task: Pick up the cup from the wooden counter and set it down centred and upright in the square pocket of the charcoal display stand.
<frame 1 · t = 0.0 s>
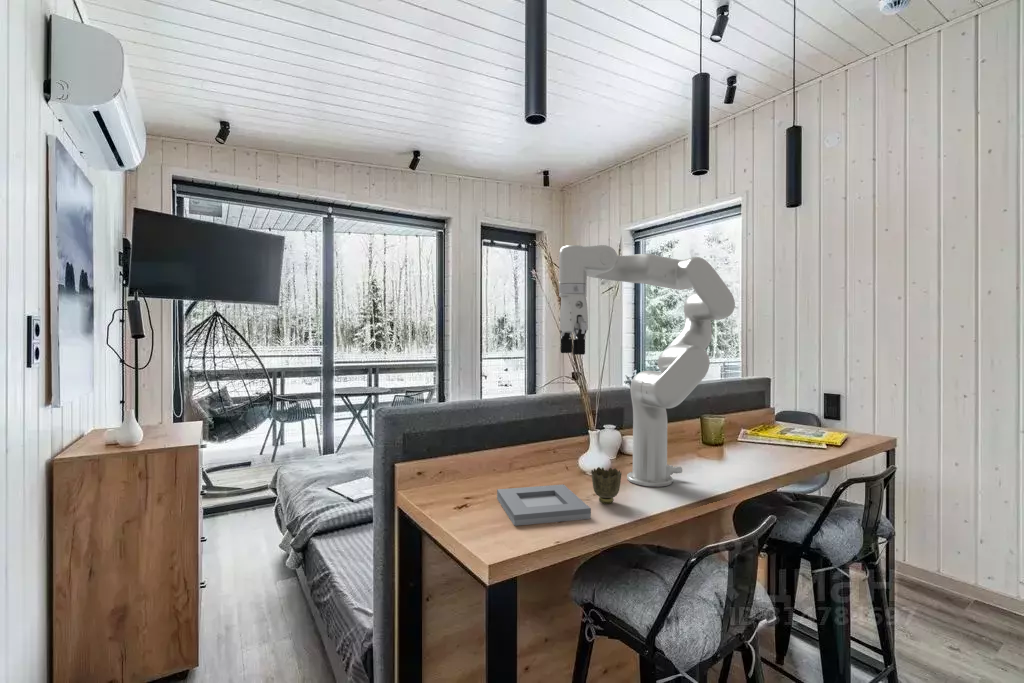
hand: (572, 353, 134), 37 cm above the table, tool pointing down, fingers open, 9 cm apart
cup: (606, 503, 122), on the table
display stand: (541, 508, 118), on the table
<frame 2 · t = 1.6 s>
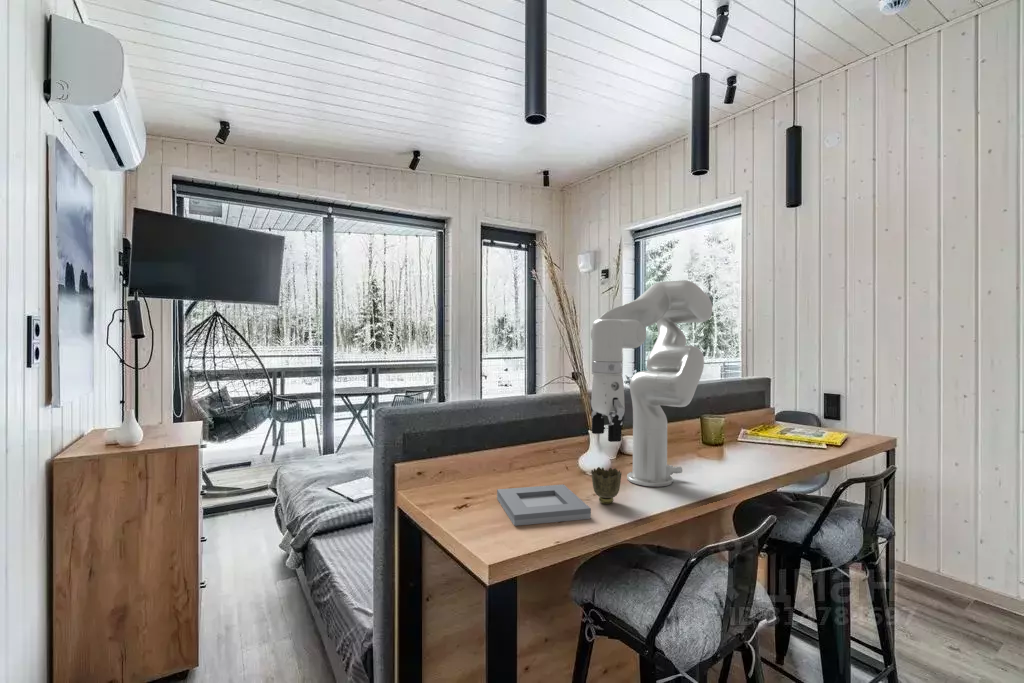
hand: (605, 437, 122), 16 cm above the table, tool pointing down, fingers open, 9 cm apart
nothing on the table moved.
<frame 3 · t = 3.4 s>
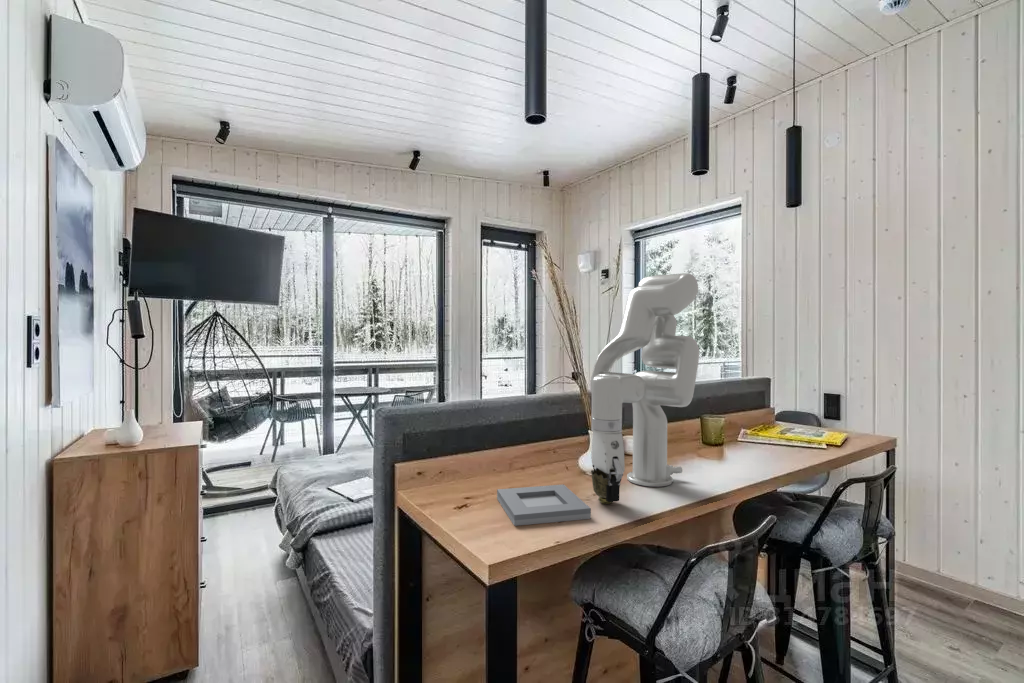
hand: (606, 495, 122), 2 cm above the table, tool pointing down, fingers closed on cup, 7 cm apart
cup: (606, 503, 122), on the table, touching gripper
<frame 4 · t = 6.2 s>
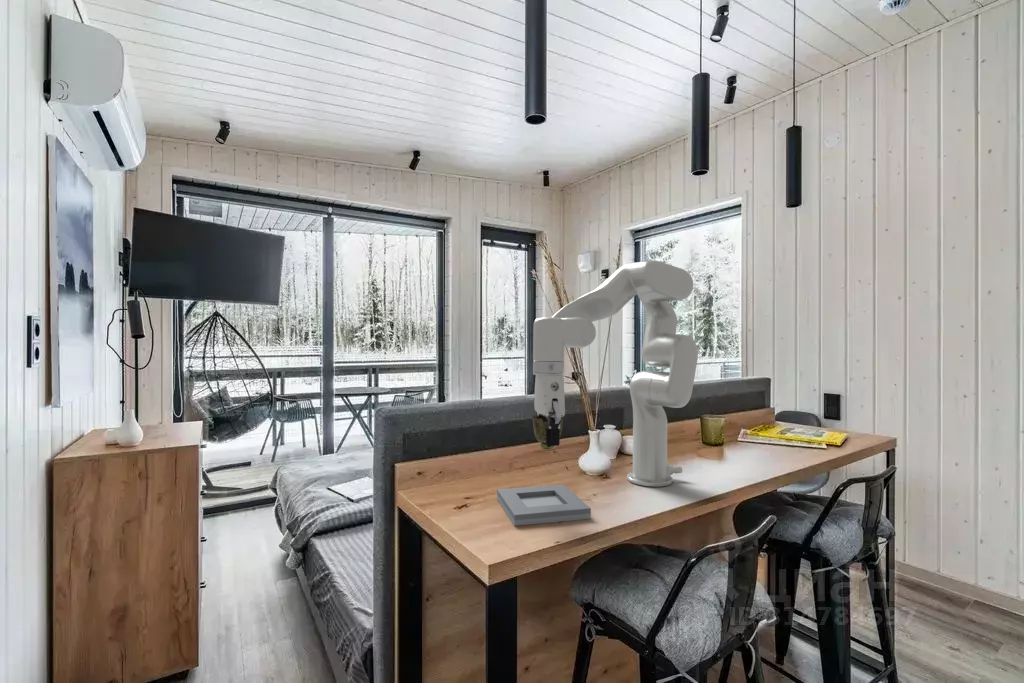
hand: (547, 441, 118), 16 cm above the table, tool pointing down, fingers closed on cup, 7 cm apart
cup: (547, 449, 118), point 14 cm above the table, touching gripper
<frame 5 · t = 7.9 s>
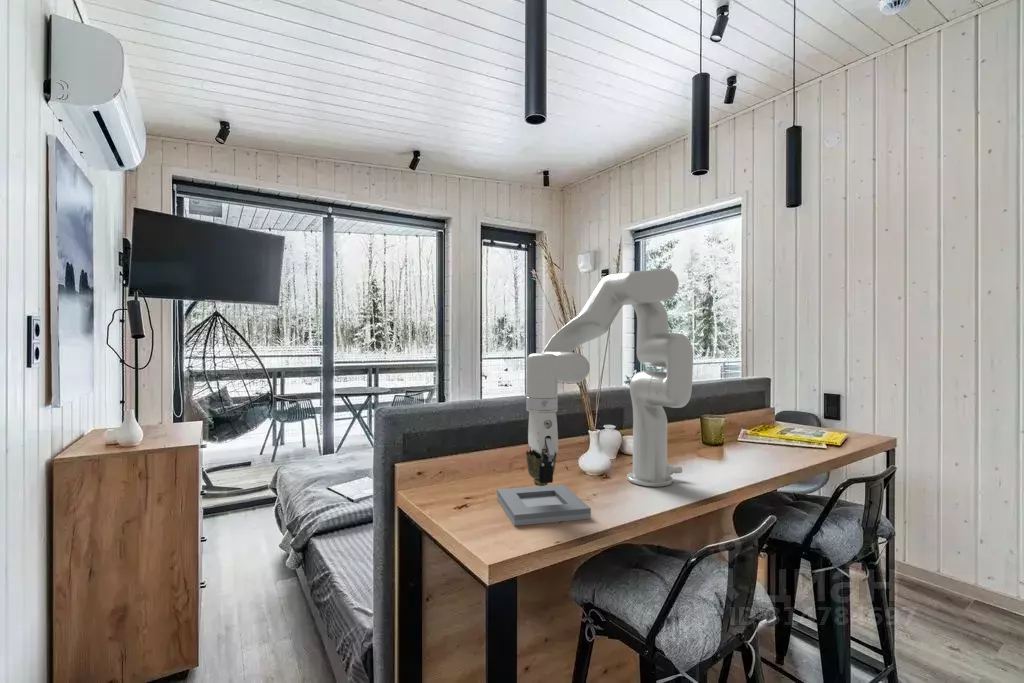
hand: (541, 477, 118), 8 cm above the table, tool pointing down, fingers closed on cup, 7 cm apart
cup: (540, 485, 118), point 6 cm above the table, touching gripper
when the fingers open (4 cm above the table, at t = 9.2 s): cup stays where it is, resting on display stand.
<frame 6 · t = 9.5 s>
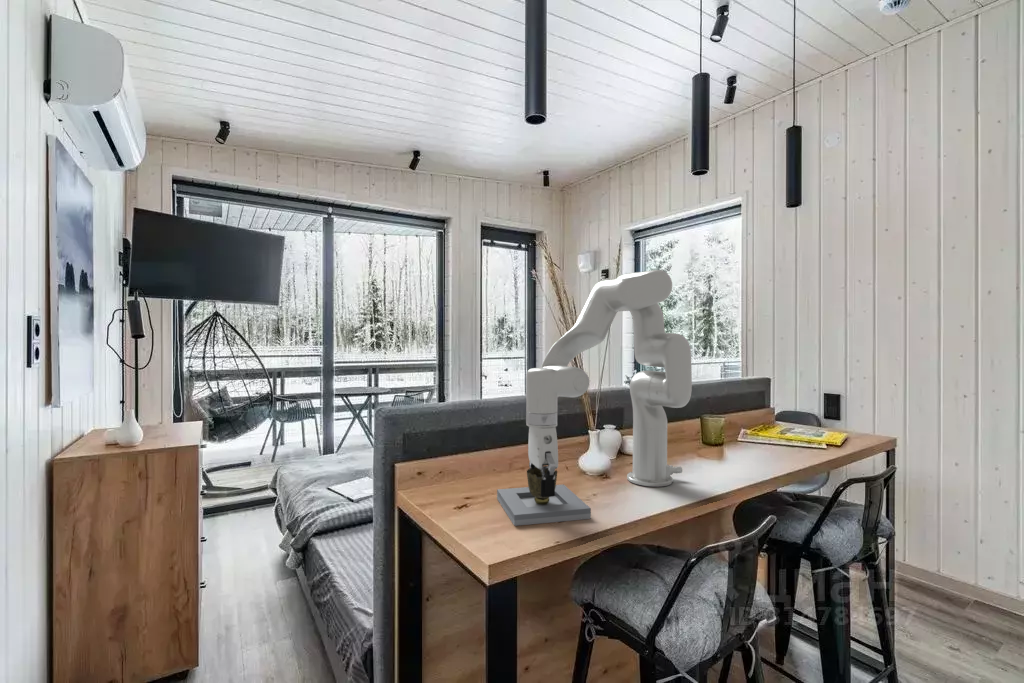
hand: (541, 489, 118), 4 cm above the table, tool pointing down, fingers open, 9 cm apart
cup: (541, 503, 118), point 1 cm above the table, touching display stand
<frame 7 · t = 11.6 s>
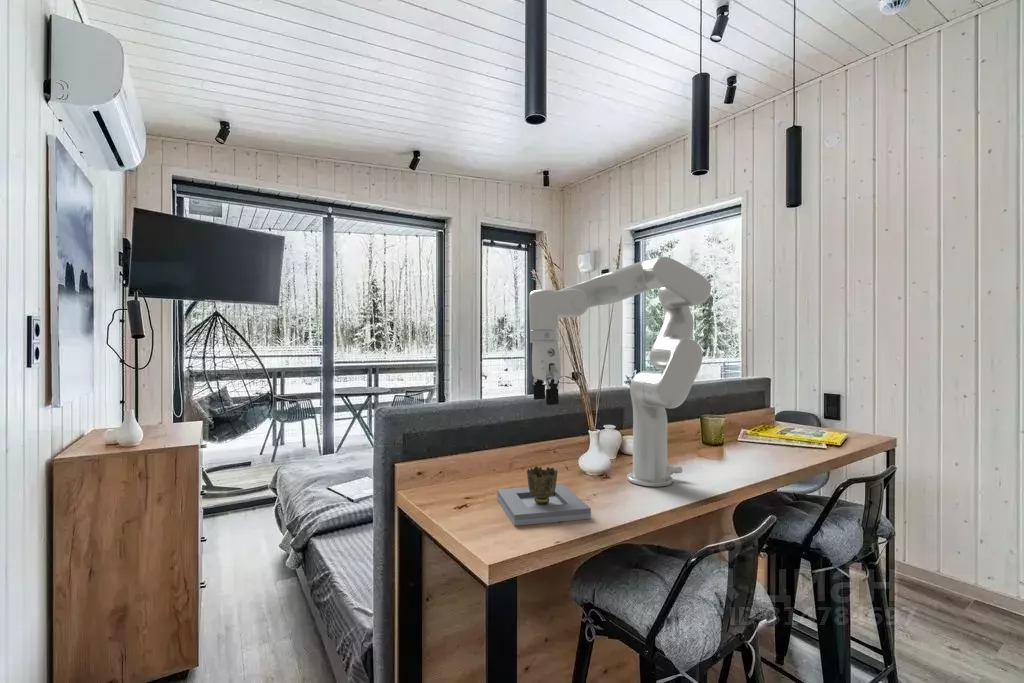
hand: (545, 401, 129), 24 cm above the table, tool pointing down, fingers open, 9 cm apart
nothing on the table moved.
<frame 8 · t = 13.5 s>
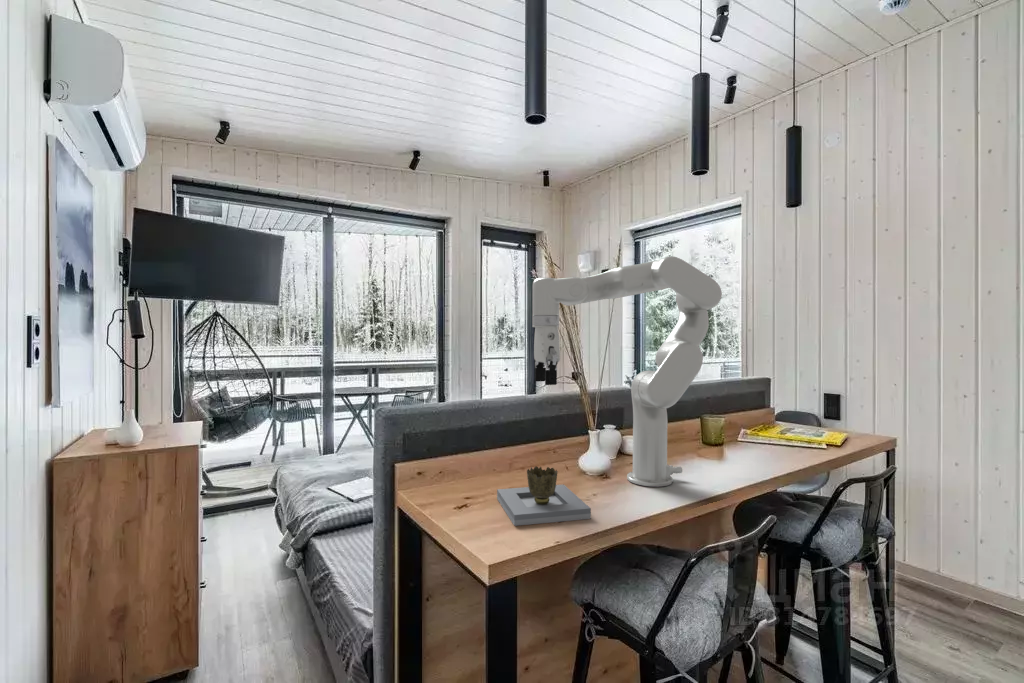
hand: (545, 382, 138), 28 cm above the table, tool pointing down, fingers open, 9 cm apart
nothing on the table moved.
at the end: cup 0.2 cm off-centre on the display stand, point 1.0 cm above the display stand's base; cup tilted 0°; the gripper is holding nothing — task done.
